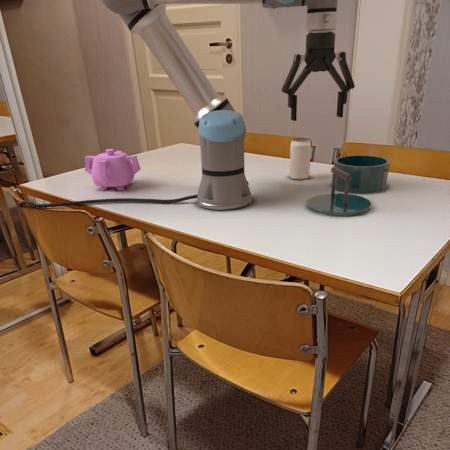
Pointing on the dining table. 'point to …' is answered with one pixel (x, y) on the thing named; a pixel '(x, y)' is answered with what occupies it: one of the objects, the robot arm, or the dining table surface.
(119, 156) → the pot
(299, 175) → the can
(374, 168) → the pot
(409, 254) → the dining table surface
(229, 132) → the robot arm
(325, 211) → the lid
